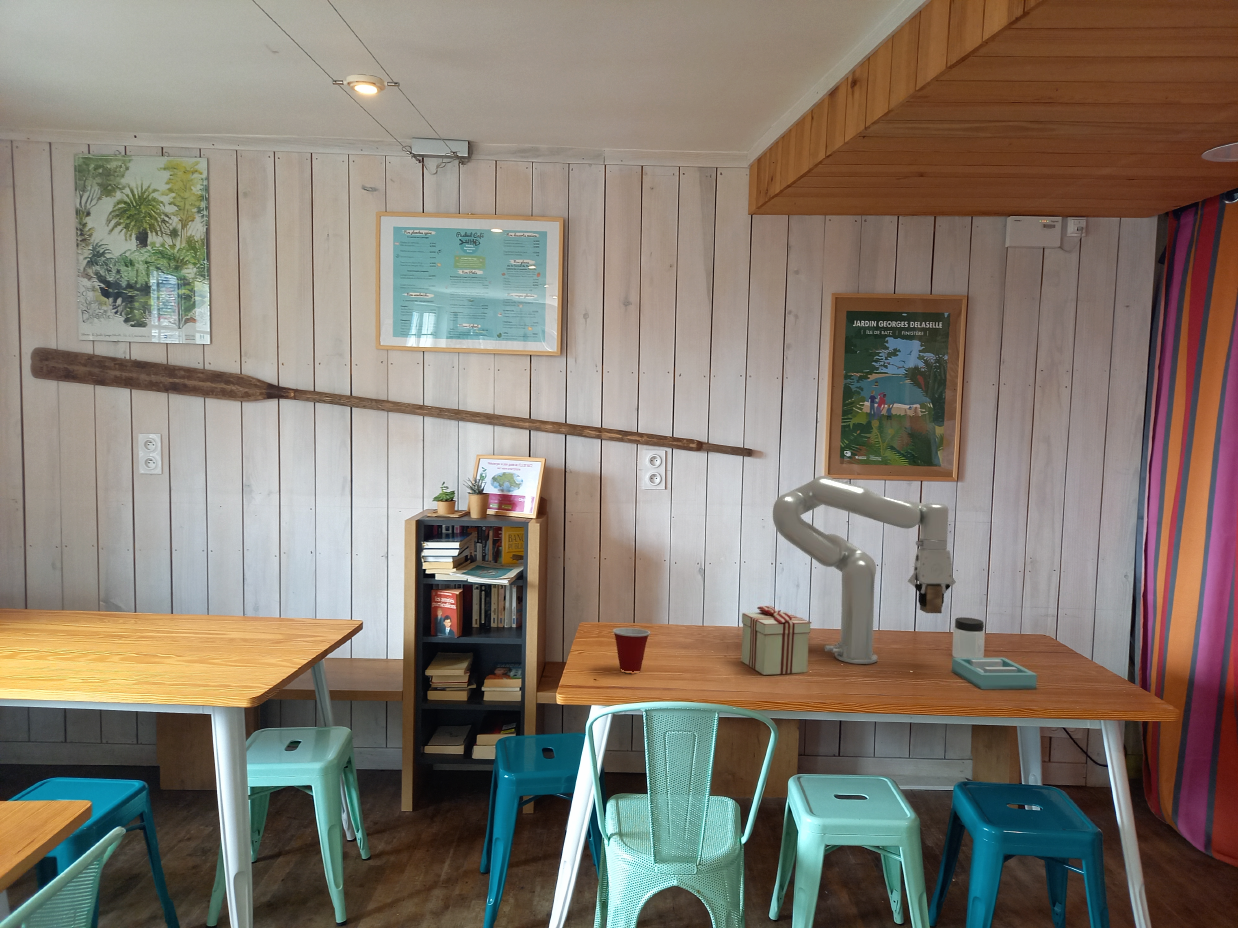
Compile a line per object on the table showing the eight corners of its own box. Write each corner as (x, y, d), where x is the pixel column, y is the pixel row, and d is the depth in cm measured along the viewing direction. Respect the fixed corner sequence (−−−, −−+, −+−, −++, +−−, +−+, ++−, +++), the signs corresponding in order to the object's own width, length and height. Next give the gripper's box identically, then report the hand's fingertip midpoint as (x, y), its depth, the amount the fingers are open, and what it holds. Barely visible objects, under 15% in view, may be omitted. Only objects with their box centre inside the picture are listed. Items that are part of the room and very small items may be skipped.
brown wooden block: (926, 613, 232) (927, 586, 231) (919, 609, 236) (920, 583, 236) (941, 613, 232) (942, 586, 232) (934, 609, 237) (935, 583, 236)
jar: (971, 663, 239) (973, 624, 239) (947, 656, 246) (949, 619, 246) (988, 659, 244) (990, 621, 244) (964, 652, 251) (965, 615, 250)
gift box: (819, 671, 229) (821, 612, 228) (766, 677, 222) (767, 617, 221) (786, 655, 245) (787, 600, 244) (734, 661, 238) (736, 604, 237)
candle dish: (980, 689, 215) (981, 672, 215) (951, 671, 231) (952, 656, 231) (1036, 688, 217) (1037, 672, 216) (1003, 670, 233) (1004, 655, 232)
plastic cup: (655, 668, 228) (656, 627, 228) (640, 678, 219) (641, 636, 218) (621, 663, 233) (622, 623, 232) (605, 673, 223) (606, 631, 223)
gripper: (911, 546, 229) (909, 608, 230) (967, 547, 230) (964, 608, 231) (900, 542, 236) (898, 602, 237) (954, 543, 238) (951, 603, 238)
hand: (930, 605), depth 234 cm, fingers closed on brown wooden block, 4 cm apart
